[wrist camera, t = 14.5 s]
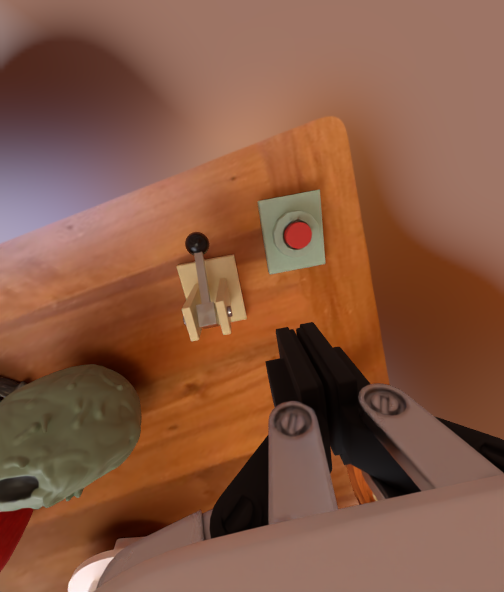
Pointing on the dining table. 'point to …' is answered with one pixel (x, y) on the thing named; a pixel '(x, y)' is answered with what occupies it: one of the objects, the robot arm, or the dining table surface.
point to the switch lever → (202, 280)
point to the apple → (12, 531)
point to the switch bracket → (212, 293)
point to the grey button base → (276, 220)
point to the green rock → (64, 434)
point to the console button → (298, 235)
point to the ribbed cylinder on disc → (96, 567)
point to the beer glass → (360, 485)
